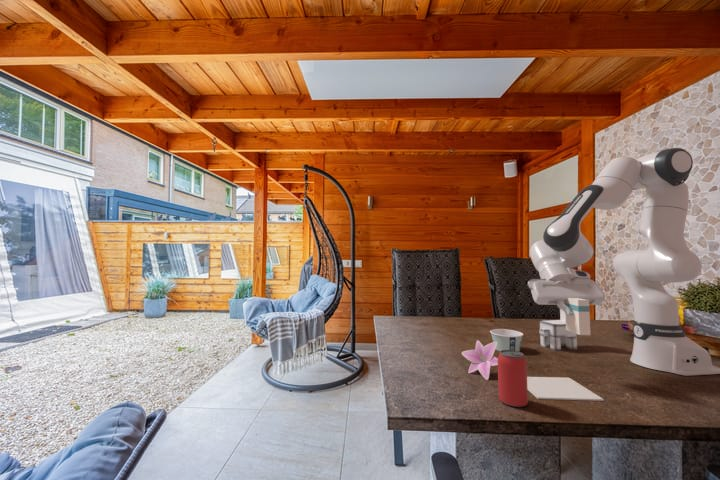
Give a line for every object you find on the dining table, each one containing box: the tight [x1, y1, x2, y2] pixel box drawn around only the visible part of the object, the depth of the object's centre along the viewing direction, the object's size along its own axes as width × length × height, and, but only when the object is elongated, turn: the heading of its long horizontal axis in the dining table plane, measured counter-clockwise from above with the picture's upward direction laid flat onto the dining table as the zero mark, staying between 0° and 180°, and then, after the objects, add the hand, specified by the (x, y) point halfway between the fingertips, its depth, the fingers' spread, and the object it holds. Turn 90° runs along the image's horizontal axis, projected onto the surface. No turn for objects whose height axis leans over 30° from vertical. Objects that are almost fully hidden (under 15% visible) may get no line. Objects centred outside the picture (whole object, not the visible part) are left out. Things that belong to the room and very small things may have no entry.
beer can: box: [497, 350, 529, 408], centre depth 77 cm, size 7×7×12 cm
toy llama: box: [538, 308, 578, 352], centre depth 124 cm, size 8×18×20 cm, turn 101°
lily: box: [461, 339, 498, 381], centre depth 96 cm, size 12×12×10 cm
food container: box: [489, 328, 524, 352], centre depth 121 cm, size 12×12×6 cm
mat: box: [527, 376, 605, 402], centre depth 84 cm, size 16×14×1 cm
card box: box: [565, 298, 591, 336], centre depth 92 cm, size 3×6×10 cm, turn 176°
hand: (578, 314), depth 91 cm, fingers closed on card box, 3 cm apart
